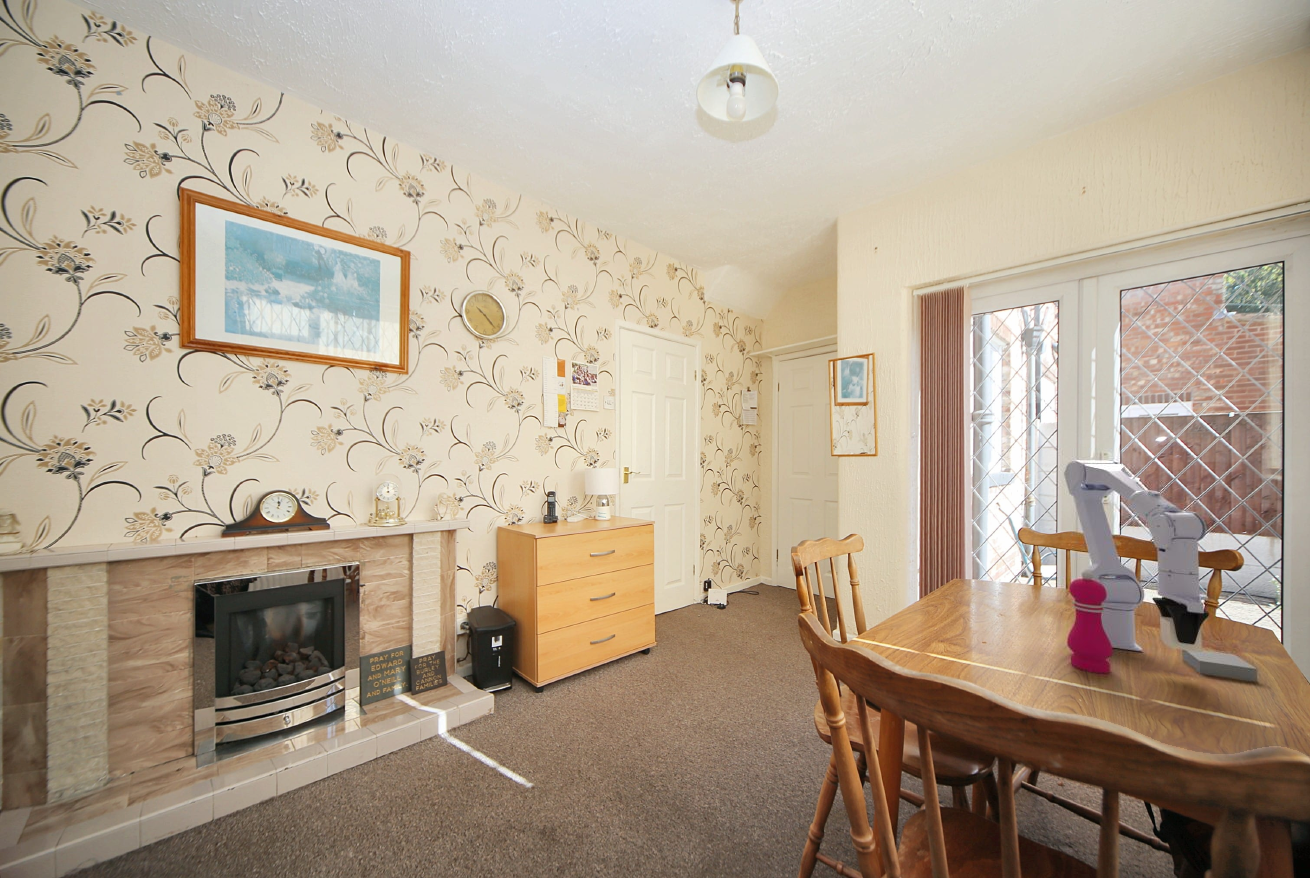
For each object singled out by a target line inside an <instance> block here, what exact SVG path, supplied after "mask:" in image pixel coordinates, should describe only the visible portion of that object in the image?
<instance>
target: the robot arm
mask: <svg viewBox="0 0 1310 878" xmlns="http://www.w3.org/2000/svg"><path fill="white" fill-rule="evenodd" d="M1067 463H1068V464H1067V465H1066V467H1065V470H1064V472H1063V475H1064V479H1065V483H1066V486H1067V489H1068V490H1067V491H1068V493H1069V495H1070V496H1072V497H1073V502H1074V506H1075V508H1076V512H1077V515H1078V519H1079V522H1080V523H1079V524H1080V526H1081V527H1080V528H1081V530H1082V534H1083V538H1084V541H1085V544H1086V547H1087V551H1088V555H1089V558H1090V562H1091V564H1090V565H1089V566H1088V567H1087V568H1086V569H1084V570H1083V571H1082V572H1081V575H1082V573H1083V572H1090V573H1091V574H1092V575H1093V578H1092V579H1091V580H1095V581H1097V582H1099V583H1100V584H1102V585H1103V586H1104V587H1105V589H1106V593H1107V597H1106V599H1105V600H1104V601H1103V602H1102V603H1101V604H1103V605H1104V607H1103V609H1104V612H1102V614H1101V620H1102V625H1103V628H1104V631H1105V633H1106V635H1107V636H1108V638H1109V640H1110V642H1111V645H1112V649H1113V648H1115V649H1121V650H1129V651H1134V652H1135V651H1137V652H1143V651H1144V650H1143V648H1142V647H1140V646H1139V645H1138V644H1137V643H1136V633H1135V632H1136V631H1135V629H1136V627H1135V610H1138V607H1139V606H1140V605H1141V604H1142V603H1144V599H1145V590H1144V588H1143V585H1141V583H1140V582H1139V580H1138V579H1137V576H1136V573H1135V572H1134V571H1133V570H1132V569H1130V568H1129V567H1127V566H1125V565H1123V564H1122V563H1121V560H1120V557H1119V553H1118V551H1117V548H1116V544H1115V541H1114V537H1113V534H1112V531H1111V527H1110V524H1109V521H1108V517H1107V515H1106V512H1105V507H1104V505H1103V499H1104V497H1105V498H1106V497H1107V496H1109V495H1111V494H1112V493H1113V492H1115V493H1117V494H1118V495H1120V496H1121V497H1123V498H1124V499H1126V501H1127V506H1128V508H1129V510H1131V511H1132V512H1133V513H1134V514H1136V515H1137V516H1138V517H1140V518H1141V519H1142V520H1143V521H1144V522H1146V523H1147V528H1148V530H1149V533H1150V534H1151V536H1152V540H1153V545H1154V546H1155V548H1156V550H1157V574H1158V575H1157V577H1158V579H1157V580H1158V584H1157V589H1156V590H1157V595H1158V596H1160V597H1152V601H1153V602H1154V604H1155V606H1156V607H1157V608H1158V610H1159V613H1160V615H1161V616H1160V617H1169V618H1172V619H1173V622H1174V626H1175V631H1176V636H1177V639H1178V641H1179V642H1180V643H1185V644H1193V645H1194V644H1195V641H1196V639H1197V635H1198V632H1199V629H1200V627H1201V628H1202V625H1203V623H1204V622H1205V621H1206V619H1208V617H1209V615H1210V613H1209V611H1207V610H1206V609H1205V608H1204V602H1202V601H1208V600H1209V596H1207V595H1205V594H1202V593H1200V592H1201V591H1200V570H1199V569H1200V568H1199V567H1200V566H1199V565H1200V564H1199V541H1201V540H1203V539H1204V538H1205V536H1206V534H1207V524H1206V522H1205V520H1204V519H1203V518H1202V517H1201V515H1199V514H1198V512H1194V511H1185V510H1183V509H1180V508H1179V507H1178V506H1176V505H1175V504H1172V502H1170V501H1169V500H1167V499H1166V498H1165V497H1163V496H1162V495H1161V492H1159V491H1157V490H1150V489H1146V490H1145V489H1144V488H1142V487H1141V486H1140V485H1138V483H1137V482H1136V481H1134V480H1133V479H1132V478H1131V477H1130V476H1129V475H1127V473H1126V468H1125V466H1124V465H1122V464H1121V463H1120V462H1118V461H1117V460H1114V459H1110V460H1078V459H1072V460H1070V461H1069V462H1067ZM1081 579H1083V577H1082V576H1081ZM1204 609H1205V610H1204Z"/></svg>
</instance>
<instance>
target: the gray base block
mask: <svg viewBox="0 0 1310 878" xmlns="http://www.w3.org/2000/svg"><path fill="white" fill-rule="evenodd" d="M1181 653H1182V655H1181V656H1182V661H1184V662H1185V663H1186V664H1187V665H1189V667H1191V668H1192V669H1194V670H1195V671H1196V672H1197V673H1199V674H1202V675H1207V676H1214V677H1219V678H1227V679H1234V680H1240V681H1245V682H1246V681H1247V682H1252V681H1253V683H1258V670H1257V668H1256V667H1254V666H1253V665H1251V664H1250V663H1248V662H1247V661H1245V660H1243V658H1241V657H1239V656H1238V655H1236V654H1235V653H1233V654H1232V653H1226V652H1225V653H1224V652H1219V651H1217V652H1216V651H1210V650H1203V649H1202V652H1196V651H1189V650H1181Z"/></svg>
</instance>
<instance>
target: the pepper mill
mask: <svg viewBox="0 0 1310 878" xmlns="http://www.w3.org/2000/svg"><path fill="white" fill-rule="evenodd" d="M1082 572H1083V571H1082ZM1082 572H1081V573H1082ZM1082 577H1083V579H1082ZM1092 578H1093V575H1092V574H1091V573H1090V572H1083V573H1082V574H1081V578H1077V579H1074V580H1073V581H1071V583H1070V584H1069V589H1068V590H1069V594H1070V595H1071V596H1072V598H1073V600H1072V603H1073V605H1072V607H1073V608H1074V610H1075V620H1074V623H1073V625H1072V627H1071V629H1070V631H1069V632H1068V635H1067V642H1066V643H1067V646H1068V649H1069V650H1070V651H1071V652H1072V653H1071V654H1070V664H1071V665H1072V666H1073V667H1075V668H1077V669H1079V670H1083V671H1086V672H1090V673H1095V674H1108V673H1110V672H1111V663H1110V661H1108V660H1107V659H1109V658H1110V657H1111V656H1113V653H1114V651H1113V647H1112V645H1111V642H1110V640H1109V638H1108V636H1107V635H1106V633H1105V631H1104V628H1103V625H1102V620H1101V614H1102V612H1104V609H1103V607H1104V605H1103V604H1101V603H1102V602H1103V601H1104V600H1105V599H1106V597H1107V593H1106V589H1105V587H1104V586H1103V585H1102V584H1100V583H1099V582H1097V581H1095V580H1091V579H1092Z"/></svg>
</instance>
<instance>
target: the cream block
mask: <svg viewBox="0 0 1310 878" xmlns="http://www.w3.org/2000/svg"><path fill="white" fill-rule="evenodd" d="M1159 619H1160V620H1159V624H1160V627H1159V628H1160V641H1161V642H1162V643H1163V644H1164V645H1166V646H1167V647H1168V648H1170V649H1176V650H1181V651H1182V650H1189V651H1196V652H1202V650H1203V641H1202V639H1203V638H1202V626H1201V627H1200V629H1199V632H1198V635H1197V639H1196V641H1195V644H1194V645H1193V644H1185V643H1180V642H1179V641H1178V639H1177V636H1176V631H1175V626H1174V622H1173V619H1172V618H1169V617H1162V616H1159Z"/></svg>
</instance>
